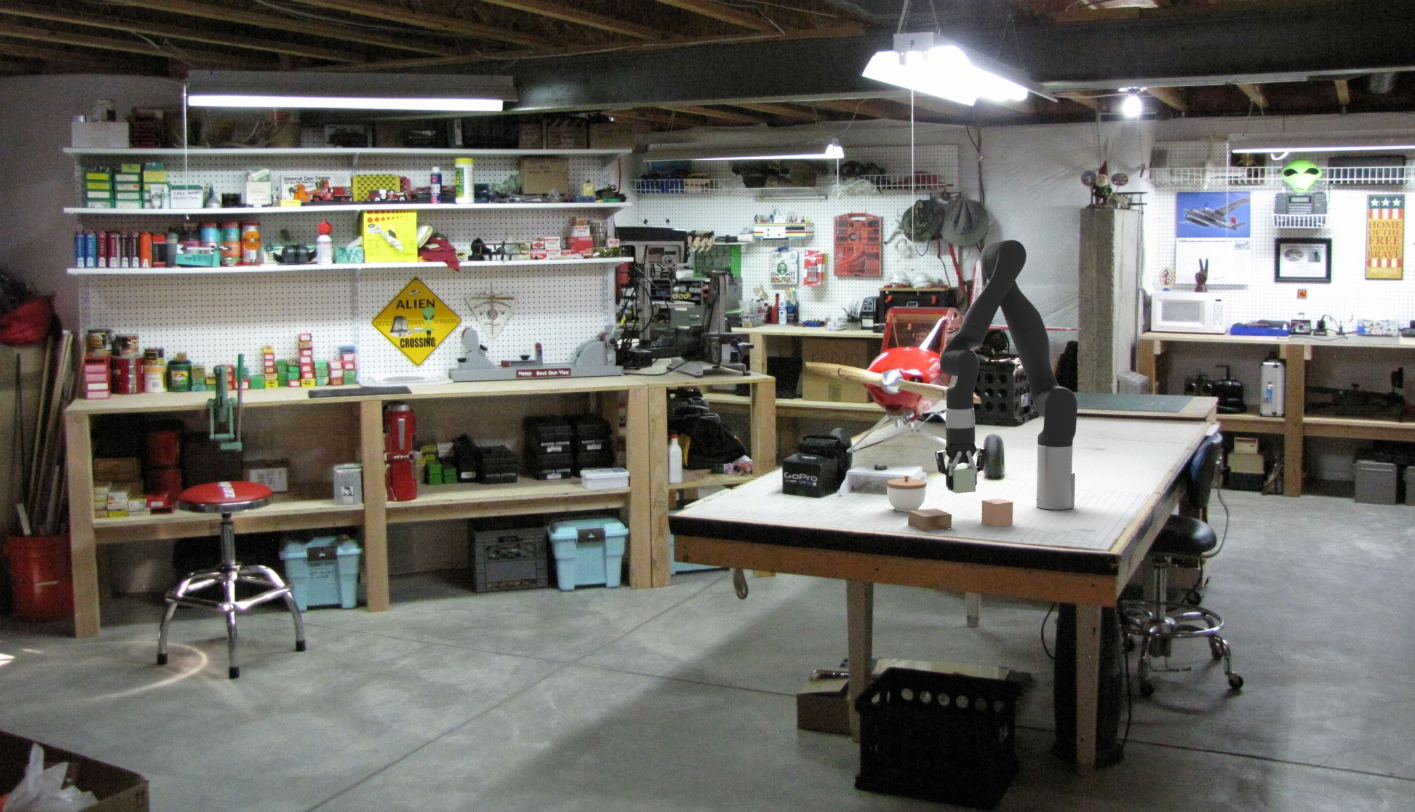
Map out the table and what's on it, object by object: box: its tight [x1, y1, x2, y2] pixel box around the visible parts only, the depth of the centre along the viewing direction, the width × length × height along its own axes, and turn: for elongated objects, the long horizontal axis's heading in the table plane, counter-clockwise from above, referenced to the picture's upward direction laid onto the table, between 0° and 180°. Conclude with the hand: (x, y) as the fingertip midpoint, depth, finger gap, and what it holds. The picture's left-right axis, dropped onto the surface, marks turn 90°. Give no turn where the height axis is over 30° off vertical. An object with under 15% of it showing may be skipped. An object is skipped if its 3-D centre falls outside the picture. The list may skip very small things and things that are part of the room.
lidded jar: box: [886, 475, 927, 513], centre depth 334 cm, size 11×11×9 cm
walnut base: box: [907, 508, 953, 532], centre depth 313 cm, size 8×8×4 cm
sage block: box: [947, 465, 977, 494], centre depth 324 cm, size 6×6×6 cm
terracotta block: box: [981, 498, 1014, 527], centre depth 315 cm, size 6×6×6 cm
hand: (961, 488), depth 324 cm, fingers closed on sage block, 5 cm apart
